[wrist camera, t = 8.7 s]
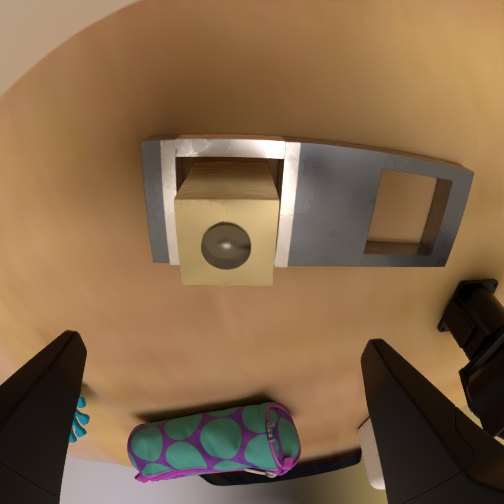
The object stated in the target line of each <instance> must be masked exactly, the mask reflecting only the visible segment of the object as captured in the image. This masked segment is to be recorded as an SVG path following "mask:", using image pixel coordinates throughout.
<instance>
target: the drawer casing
mask: <svg viewBox="0 0 504 504" xmlns="http://www.w3.org/2000/svg"><path fill="white" fill-rule="evenodd" d="M141 151H142V166H143V179H144V190H145V200H146V210H147V219H148V227H149V235H150V242H151V249H152V256H153V263H170V265H180V264H179V255H178V245H177V235H176V225H175V213H174V198H175V196H176V194H177V193H178V191H179V189H180V187H181V186H182V184H183V175H182V157H257V158H278V159H280V163H279V176H278V189H277V194H278V198H279V213H278V226H277V238H276V249H275V261H274V265H275V267H287V266H361V267H445V265H446V262H447V260H448V257H449V254H450V252H451V249H452V246H453V243H454V240H455V238H456V235H457V232H458V229H459V226H460V223H461V219H462V216H463V213H464V209H465V206H466V203H467V199H468V195H469V192H470V188H471V184H472V180H473V176H474V172H473V171H471V170H469V169H467V168H466V167H464V166H462V165H459V164H456V163H452V162H448V161H443V160H439V159H435V158H431V157H426V156H421V155H417V154H412V153H407V152H401V151H396V150H390V149H385V148H379V147H373V146H366V145H359V144H352V143H344V142H336V141H328V140H318V139H308V138H296V137H283V136H266V135H239V134H186V135H160V136H149V137H148V138H146V139H144V140H142V141H141ZM382 169H388V170H395V171H401V172H407V173H413V174H419V175H425V176H430V177H436V178H438V181H437V185H436V189H435V194H434V198H433V201H432V205H431V209H430V213H429V216H428V220H427V223H426V226H425V230H424V233H423V236H422V239H421V243H420V244H412V243H389V242H366V241H367V236H368V232H369V228H370V224H371V219H372V215H373V210H374V206H375V201H376V196H377V191H378V186H379V181H380V176H381V170H382Z"/></svg>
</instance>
